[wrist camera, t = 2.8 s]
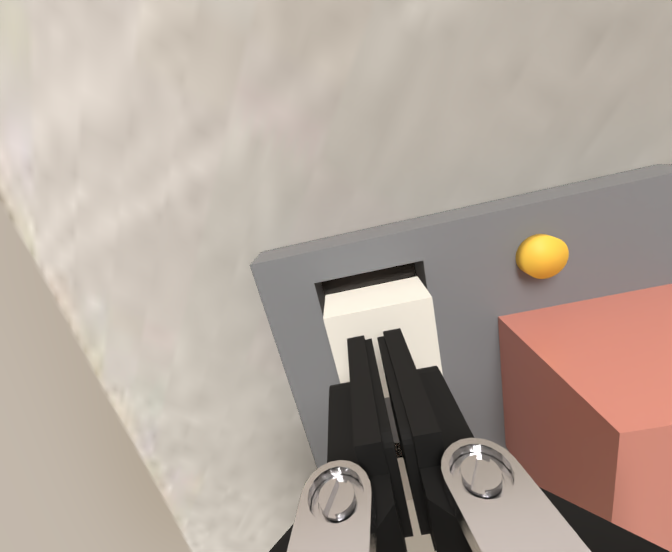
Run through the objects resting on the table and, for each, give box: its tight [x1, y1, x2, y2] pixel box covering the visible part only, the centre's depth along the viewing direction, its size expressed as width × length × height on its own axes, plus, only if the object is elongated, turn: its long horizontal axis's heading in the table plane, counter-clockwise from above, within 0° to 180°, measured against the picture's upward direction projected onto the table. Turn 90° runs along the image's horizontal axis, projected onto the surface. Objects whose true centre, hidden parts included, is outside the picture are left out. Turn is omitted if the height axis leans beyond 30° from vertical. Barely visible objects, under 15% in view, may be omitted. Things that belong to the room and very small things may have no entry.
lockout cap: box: [498, 284, 672, 552], centre depth 11 cm, size 7×7×6 cm
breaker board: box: [250, 164, 672, 469], centre depth 15 cm, size 17×16×3 cm
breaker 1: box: [323, 276, 443, 398], centre depth 12 cm, size 4×4×2 cm
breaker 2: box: [397, 457, 437, 552], centre depth 15 cm, size 4×4×2 cm
